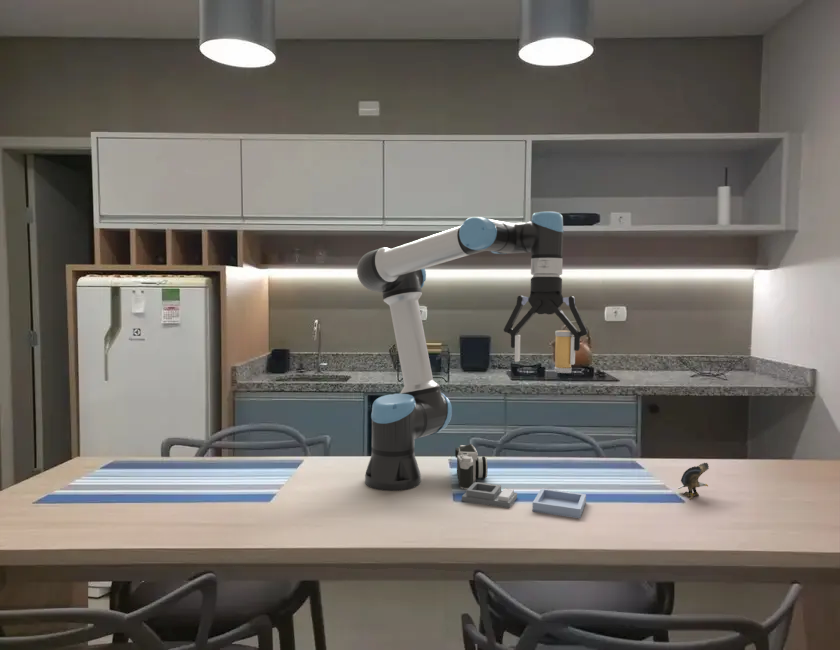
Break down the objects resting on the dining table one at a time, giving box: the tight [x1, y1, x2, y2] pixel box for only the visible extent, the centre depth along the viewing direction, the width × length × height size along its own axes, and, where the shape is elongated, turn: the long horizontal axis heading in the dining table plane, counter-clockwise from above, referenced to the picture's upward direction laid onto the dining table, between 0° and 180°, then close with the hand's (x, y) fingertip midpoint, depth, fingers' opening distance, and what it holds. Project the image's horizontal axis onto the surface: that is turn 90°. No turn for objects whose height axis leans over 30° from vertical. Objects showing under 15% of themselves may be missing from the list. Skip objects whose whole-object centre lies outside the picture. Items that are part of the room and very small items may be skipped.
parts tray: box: [532, 487, 587, 519], centre depth 141 cm, size 11×11×2 cm
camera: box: [454, 443, 489, 490], centre depth 162 cm, size 16×9×10 cm, turn 0°
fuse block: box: [461, 481, 518, 509], centre depth 146 cm, size 12×8×3 cm, turn 68°
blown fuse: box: [554, 330, 573, 374], centre depth 143 cm, size 4×4×10 cm
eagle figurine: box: [677, 462, 710, 501], centre depth 150 cm, size 8×7×9 cm
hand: (544, 362), depth 145 cm, fingers open, 13 cm apart
